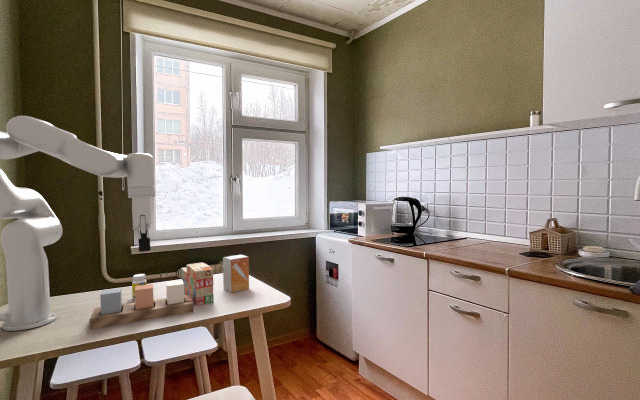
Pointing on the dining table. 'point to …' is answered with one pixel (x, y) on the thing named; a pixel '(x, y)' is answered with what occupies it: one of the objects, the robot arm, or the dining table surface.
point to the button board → (140, 313)
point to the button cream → (175, 292)
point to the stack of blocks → (198, 283)
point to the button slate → (111, 301)
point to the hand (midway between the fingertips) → (144, 250)
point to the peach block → (144, 296)
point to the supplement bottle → (138, 282)
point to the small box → (236, 273)
